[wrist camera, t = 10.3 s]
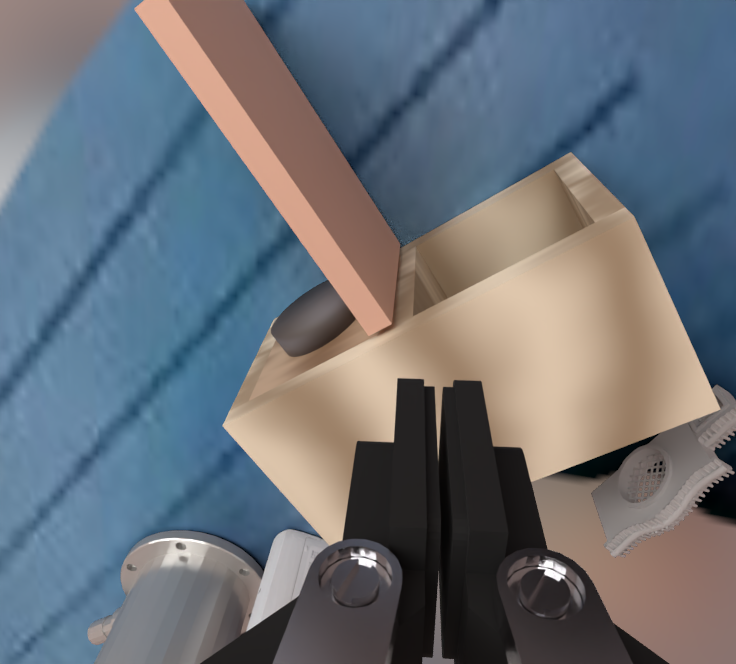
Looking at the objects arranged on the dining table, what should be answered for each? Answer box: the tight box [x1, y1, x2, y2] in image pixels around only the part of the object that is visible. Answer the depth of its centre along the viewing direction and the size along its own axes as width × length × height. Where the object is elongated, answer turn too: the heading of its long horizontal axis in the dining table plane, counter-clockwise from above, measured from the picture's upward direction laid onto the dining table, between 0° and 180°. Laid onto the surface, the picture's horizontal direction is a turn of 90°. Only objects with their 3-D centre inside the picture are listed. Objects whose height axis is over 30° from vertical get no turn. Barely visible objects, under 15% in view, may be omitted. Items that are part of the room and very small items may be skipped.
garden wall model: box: [591, 385, 736, 558], centre depth 38 cm, size 12×2×6 cm, turn 148°
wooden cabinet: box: [223, 152, 721, 546], centre depth 32 cm, size 20×11×11 cm, turn 123°
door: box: [135, 0, 400, 336], centre depth 28 cm, size 15×2×10 cm, turn 33°
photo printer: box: [246, 529, 329, 632], centre depth 43 cm, size 10×4×12 cm, turn 68°
